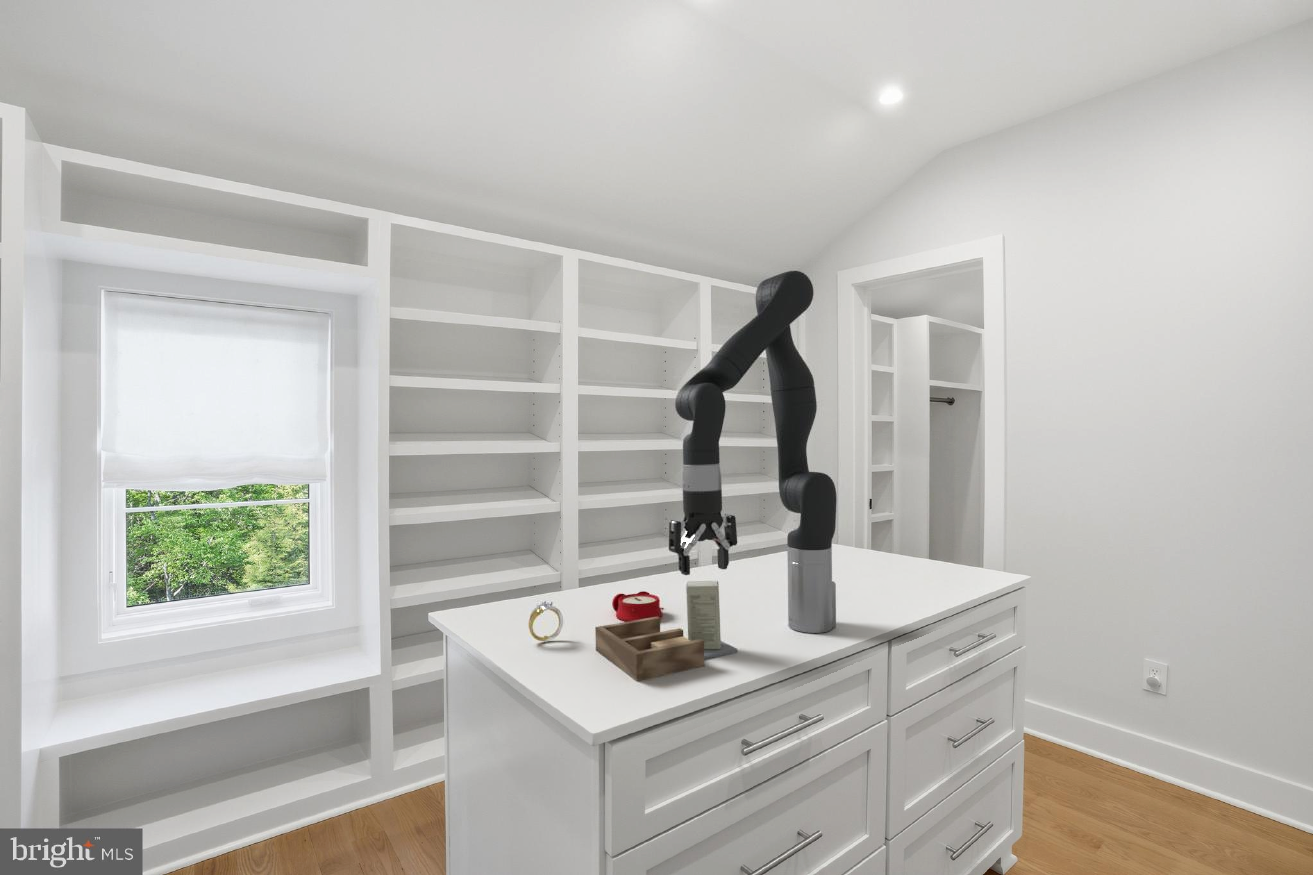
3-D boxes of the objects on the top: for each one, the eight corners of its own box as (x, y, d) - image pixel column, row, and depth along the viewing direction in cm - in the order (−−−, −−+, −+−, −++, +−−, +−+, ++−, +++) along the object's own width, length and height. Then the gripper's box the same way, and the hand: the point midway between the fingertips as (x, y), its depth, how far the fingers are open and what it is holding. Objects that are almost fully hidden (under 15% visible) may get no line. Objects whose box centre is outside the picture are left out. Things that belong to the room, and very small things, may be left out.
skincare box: (720, 642, 120) (720, 580, 120) (720, 650, 116) (720, 585, 116) (687, 641, 121) (687, 579, 121) (686, 649, 117) (686, 585, 117)
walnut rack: (657, 638, 125) (657, 616, 125) (704, 665, 110) (704, 640, 110) (595, 650, 119) (595, 627, 119) (636, 681, 103) (636, 654, 103)
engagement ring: (530, 646, 121) (529, 605, 121) (527, 641, 124) (527, 601, 124) (564, 641, 124) (564, 602, 124) (561, 637, 127) (561, 598, 127)
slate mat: (710, 638, 125) (710, 635, 125) (737, 652, 117) (737, 648, 117) (672, 646, 120) (672, 643, 120) (697, 660, 113) (697, 657, 113)
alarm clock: (625, 610, 133) (606, 579, 147) (623, 637, 135) (605, 604, 149) (670, 605, 137) (648, 575, 151) (668, 631, 138) (647, 599, 152)
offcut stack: (686, 656, 116) (686, 635, 116) (700, 663, 112) (699, 641, 112) (649, 664, 112) (649, 642, 112) (661, 672, 108) (661, 649, 108)
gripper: (680, 491, 112) (683, 580, 112) (743, 486, 119) (746, 570, 119) (660, 488, 118) (662, 572, 119) (721, 483, 125) (723, 563, 125)
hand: (704, 571), depth 119 cm, fingers open, 8 cm apart
